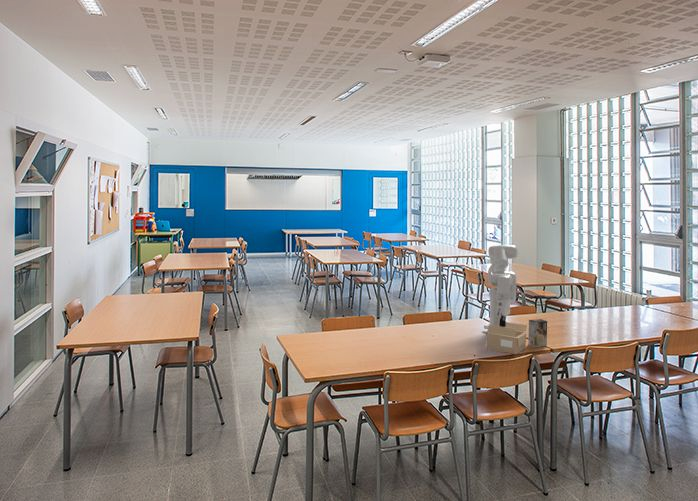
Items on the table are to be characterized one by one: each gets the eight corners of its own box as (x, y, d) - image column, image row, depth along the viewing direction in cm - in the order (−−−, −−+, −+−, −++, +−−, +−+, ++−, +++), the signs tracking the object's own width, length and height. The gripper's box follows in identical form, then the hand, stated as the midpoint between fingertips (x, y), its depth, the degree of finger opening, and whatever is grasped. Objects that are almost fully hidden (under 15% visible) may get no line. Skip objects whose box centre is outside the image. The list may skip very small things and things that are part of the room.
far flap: (501, 321, 318) (501, 321, 318) (498, 327, 315) (499, 327, 316) (527, 325, 308) (527, 325, 308) (524, 331, 305) (525, 331, 305)
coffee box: (540, 343, 315) (541, 318, 314) (546, 346, 309) (547, 321, 307) (527, 344, 313) (528, 319, 311) (534, 347, 307) (535, 322, 305)
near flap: (515, 328, 292) (515, 328, 291) (515, 336, 292) (515, 337, 292) (488, 324, 302) (488, 324, 301) (488, 332, 302) (488, 332, 302)
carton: (486, 348, 304) (486, 332, 303) (496, 342, 317) (496, 327, 316) (517, 354, 293) (517, 337, 292) (526, 348, 305) (526, 332, 304)
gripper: (504, 298, 288) (504, 330, 289) (514, 295, 299) (513, 325, 301) (492, 297, 292) (491, 328, 294) (501, 294, 304) (500, 323, 305)
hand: (502, 326), depth 297 cm, fingers closed
